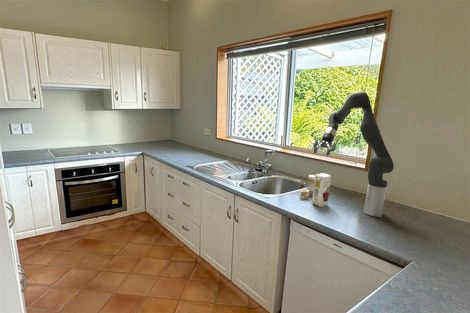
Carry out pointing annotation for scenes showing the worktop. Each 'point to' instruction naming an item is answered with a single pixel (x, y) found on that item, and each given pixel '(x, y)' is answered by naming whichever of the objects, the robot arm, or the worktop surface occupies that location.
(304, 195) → the beech block
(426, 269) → the worktop surface
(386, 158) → the robot arm
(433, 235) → the worktop surface
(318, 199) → the juice carton
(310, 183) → the sprinkles bottle
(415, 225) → the worktop surface
